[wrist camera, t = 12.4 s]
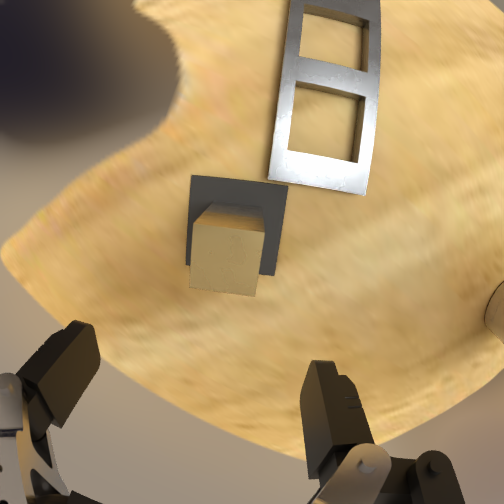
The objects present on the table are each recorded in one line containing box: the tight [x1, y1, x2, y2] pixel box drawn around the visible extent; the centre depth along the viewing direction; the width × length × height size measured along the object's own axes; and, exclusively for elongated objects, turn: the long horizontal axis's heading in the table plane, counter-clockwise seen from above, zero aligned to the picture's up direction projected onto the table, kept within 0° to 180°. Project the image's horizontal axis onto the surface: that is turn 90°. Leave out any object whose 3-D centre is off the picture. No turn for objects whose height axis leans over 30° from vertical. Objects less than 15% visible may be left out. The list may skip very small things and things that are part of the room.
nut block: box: [189, 201, 265, 297], centre depth 22 cm, size 4×4×9 cm
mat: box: [186, 175, 288, 276], centre depth 27 cm, size 9×9×1 cm
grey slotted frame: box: [267, 0, 381, 196], centre depth 21 cm, size 9×22×2 cm, turn 173°
